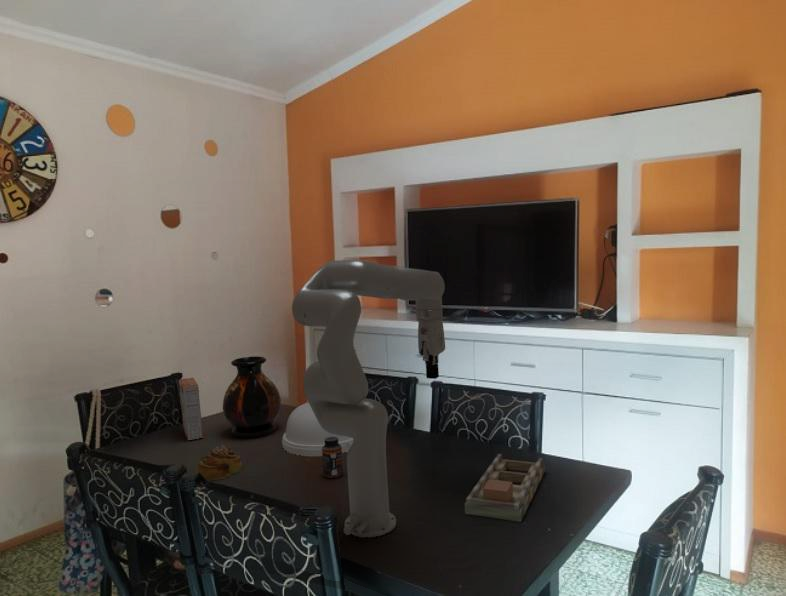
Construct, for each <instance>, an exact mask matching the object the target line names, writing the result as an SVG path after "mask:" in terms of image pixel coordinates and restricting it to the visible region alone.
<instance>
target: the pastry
mask: <svg viewBox="0 0 786 596" xmlns="http://www.w3.org/2000/svg"><path fill="white" fill-rule="evenodd" d="M242 468H244V465H243V462H242V461H241V457H240V455H236V454H235V452H234V451H233V450H232V449H231V448H230V447H229V446H228V445H225V444H221V445H219V446H216V447H214V448H213V449H212V450H210V452H209V453H207V454H206V455H205V456H202V457H201V458H200V459H199V462H198V464H197V465H196V467H195V470H194V471H193V473H197V472H200V473H202V474H203V476H204V477H205V478H206V479H207V480H209V481H208V482H212V481H211V480H213V479H219V478H225V477H228V475H229V474H233V473H236V472H238V471H240V470H241V469H242ZM242 470H243V469H242ZM242 470H241V471H242ZM241 471H240V472H241ZM238 473H239V472H238ZM236 474H237V473H236ZM233 475H234V474H233ZM228 478H229V477H228Z"/></svg>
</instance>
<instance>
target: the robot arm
mask: <svg viewBox="0 0 786 596" xmlns="http://www.w3.org/2000/svg"><path fill="white" fill-rule="evenodd" d="M445 286H446V285H445V281H444V278H443V277H442V275H441V274H440V272H438V271H432V270H426V269H419V268H410V267H402V266H396V265H389V264H383V263H378V262H375V261H373V262H372V261H369V260H364V259H363V260H362V259H342V260H340V259H339V260H337V259H336V260H329V261H328V262H326V263H324V264H323V265H321V266H320V267H319V268H318V269H317V270H316V271H315V272H314V273H313V274H312V276H311V277H310V278H309V279H308V280H307V281H306V282H305V284H304V285H302V286H301V287H300V289H299V290H298V291H297V292H296V294H295V296H294V297H293V300H292V303H291V312H292V316H293V318H294V320H295V321H296V322H297V323H298V324H300V325H302V326H306V327H319V328H320V327H321V328H325V329H324V332H323V334H322V336H321V338H320V340H319V343H318V346H317V349H316V357H317V361H316V362H315V361H314V362H313V363H311V364H310V365H309V366H308V367H307V368H306V370H305V372H304V374H303V378H302V379H303V380H302V387H303V392H304V395H305V397H306V400H307V403H308V402H309V404H310V406H311V408H312V410H313V412H314V414H315V416H316V418H317V420H318V422H319V424H320V426H321V427H322V428H323V429H324V430H325V431H326V432H328V433H332V434H336V435H342V436H348V437H352V438H353V439H354V440H353V444H352V445H351V447H350V449H349V451H348V452H346V453H347V455H346V466H347V467H346V468H347V484H348V497H349V498H348V499H349V501H348V502H349V515H348V517H347V518H346V519H345V521H344V528H343V533H344V534H345V535H347V536H349V535H351V534H352V536H353V535H354V537H357V536H358V537H357V538H366V537H368V538H376V536H377V537H381V536H383V535H387V534H388V533H390V532H392V531H393V530H394V529H395V527H396V526H397V518H396V516H395V515H394V514H393V513H391V512H390V504H389V503H390V502H389V487H388V470H387V467H388V465H387V453H386V451H387V450H386V446H387V444H386V443H387V441H386V439H387V429H388V421H389V415H388V413H389V412H388V410H387V408H386V406H385V405H384V404H383V403H381V402H380V401H377V399H372V398H366V397H367V396H368V395H369V394H368V393H369V384H368V380H367V376H366V374H365V371H364V369H363V367H362V364H361V363H360V360H359V357H358V355H357V352H356V350H355V345H354V338H355V334H356V330H357V326H358V323H359V320H360V317H361V314H362V304H361V300H360V297H368V298H375V299H383V300H384V299H387V300H399V299H400V300H403V301H415V312H416V314H415V315H416V322H418V325H417V326H418V328H417V343H418V344H417V347H418V353H419V355H420V356H422V361H423V362H424V364H425V375H426V379H434V380H435V379H437V378H439V376H440V374H439V372H440V371H439V355H440V354H442V353H443V352H444V351H445V350H446V338H445V331H444V330H445V328H444V323H443V321H444V318H443V317H444V316H443V296H444V295H443V294H444V292H445V289H446V287H445ZM359 296H360V297H359ZM386 533H387V534H386Z"/></svg>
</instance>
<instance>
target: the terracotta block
mask: <svg viewBox="0 0 786 596" xmlns="http://www.w3.org/2000/svg"><path fill="white" fill-rule="evenodd" d="M513 483H514V482H510V481H502V480H492V479H489V480H488V482H487V483H486V485H485V486H484V488H483V499H486V500H494V501H501V502H509V503H510V502H511V500H512V498H513V485H514V484H513Z"/></svg>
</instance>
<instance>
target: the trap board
mask: <svg viewBox="0 0 786 596" xmlns="http://www.w3.org/2000/svg"><path fill="white" fill-rule="evenodd" d="M545 466H546V465H545V463H544V462H543V458H541V457H539V458H538V459H537V461H536V462H535V461H533V462H532V461H525V460H524V461H523V460H513V459H504V458H503V457H502V453H498V454H497V455H496V457H495V458H494V459H493V461H492V462H491V464H490V465H489V466H488V468H487V469H486V470H485V472H484V473H483V475H482V476H480V479H479V480H478V481H477V483H476V485H475V486H474V487H473V488H472V490H471V491H470V493H469V494H468V496H467V497H466V499H465V500H466V502H465V503H464V514H465V515H471V516H479V517H485V518H493V519H499V520H505V521H512V522H518V523H519V522H521V523H522V520H523V518H524V516H525V515H526V512H527V510H528V508H529V506H530V504H531V502H532V500H533V497H534V495H535V493H536V491H537V489H538V487H539V484H540V483H541V481H542V479H543V476H544V475H545V471H546V469H545ZM507 470H511V471H507ZM512 470H513V471H512ZM517 471H519V472H517ZM520 471H521V472H520ZM526 472H527V473H526ZM489 479H492V480H500V481H509V482H512V483H520V484H513V498H512V500H511V502H510V503H509V502H501V501H494V500H486V499H483V488H484V486H485V485H486V483H487V482H488V480H489Z"/></svg>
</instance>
